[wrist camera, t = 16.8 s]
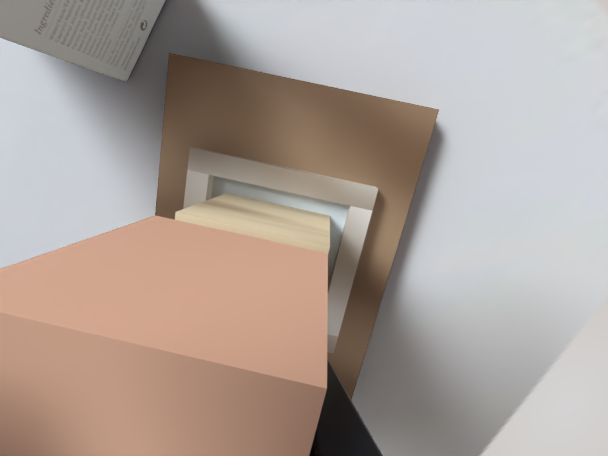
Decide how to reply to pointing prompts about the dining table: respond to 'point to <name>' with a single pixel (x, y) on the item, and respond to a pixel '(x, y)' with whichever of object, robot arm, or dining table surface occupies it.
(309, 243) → the maple block
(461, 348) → the dining table surface
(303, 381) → the terracotta block
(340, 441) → the robot arm
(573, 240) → the dining table surface
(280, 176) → the walnut board
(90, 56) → the small box
